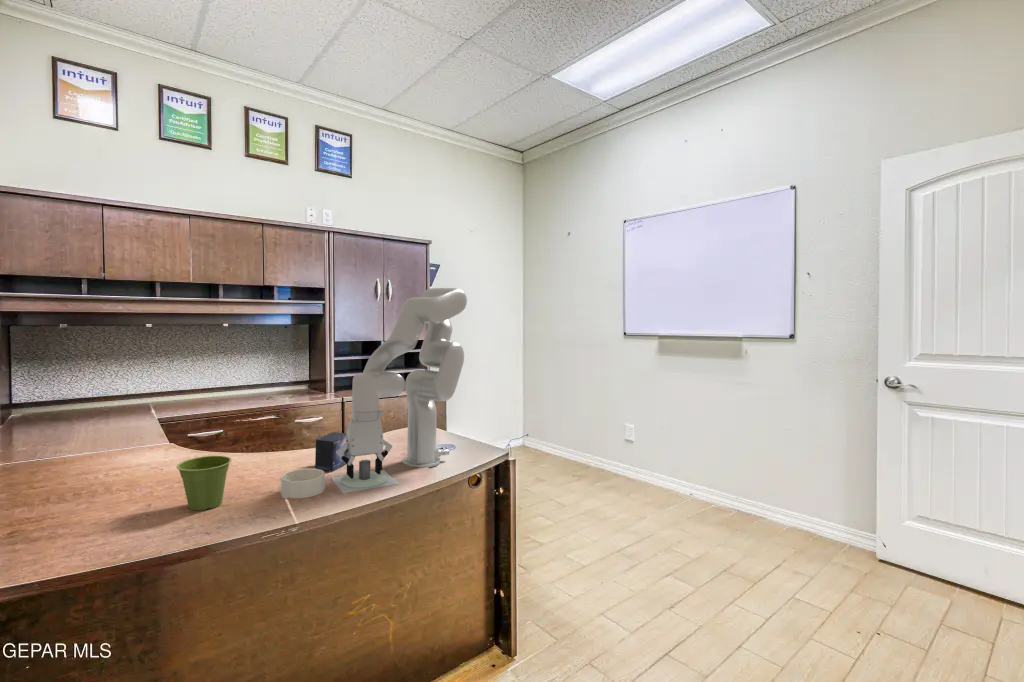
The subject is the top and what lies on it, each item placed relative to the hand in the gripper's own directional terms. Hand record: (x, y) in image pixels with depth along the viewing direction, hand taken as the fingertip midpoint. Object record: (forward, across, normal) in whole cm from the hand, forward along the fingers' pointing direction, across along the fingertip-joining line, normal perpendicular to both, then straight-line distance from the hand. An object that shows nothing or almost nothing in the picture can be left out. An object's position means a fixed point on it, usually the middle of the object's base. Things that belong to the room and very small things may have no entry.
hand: (364, 474), depth 144 cm
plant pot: (+3, +40, -2) cm, 40 cm away
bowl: (+2, +17, 0) cm, 17 cm away
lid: (+2, 0, 0) cm, 2 cm away
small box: (+3, +5, -18) cm, 19 cm away
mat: (+2, 0, 0) cm, 2 cm away
